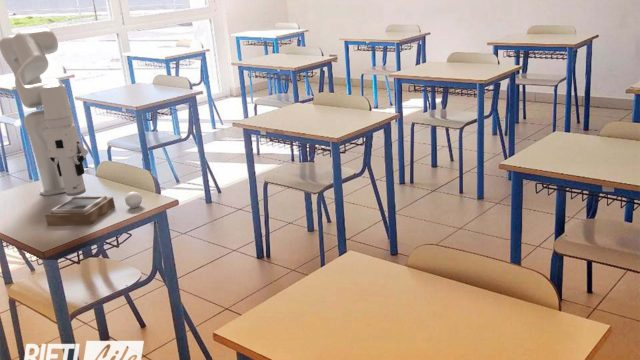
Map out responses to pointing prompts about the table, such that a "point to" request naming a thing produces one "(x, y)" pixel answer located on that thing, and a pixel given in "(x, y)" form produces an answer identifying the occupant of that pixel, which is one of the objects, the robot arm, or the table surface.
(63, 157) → the travel mug
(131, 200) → the white egg
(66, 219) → the display stand
